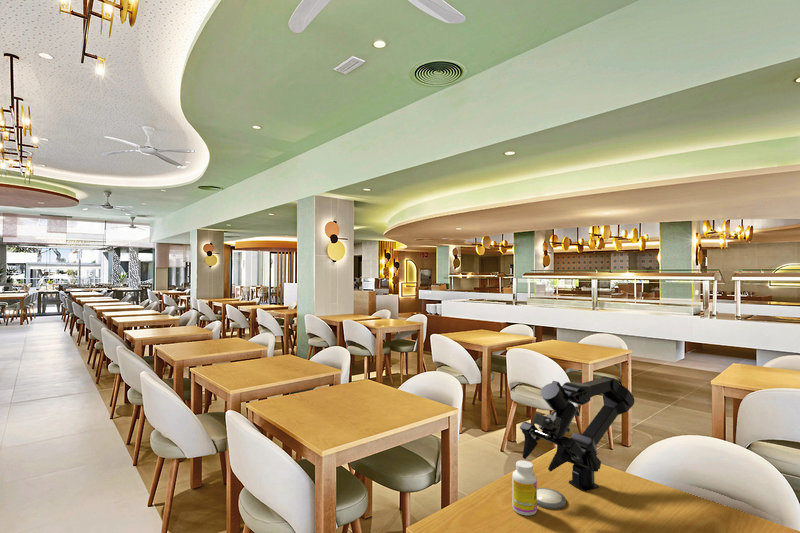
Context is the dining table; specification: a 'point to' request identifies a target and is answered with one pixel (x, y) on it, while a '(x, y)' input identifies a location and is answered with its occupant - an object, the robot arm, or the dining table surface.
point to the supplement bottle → (524, 489)
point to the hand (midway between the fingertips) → (536, 464)
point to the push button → (550, 498)
